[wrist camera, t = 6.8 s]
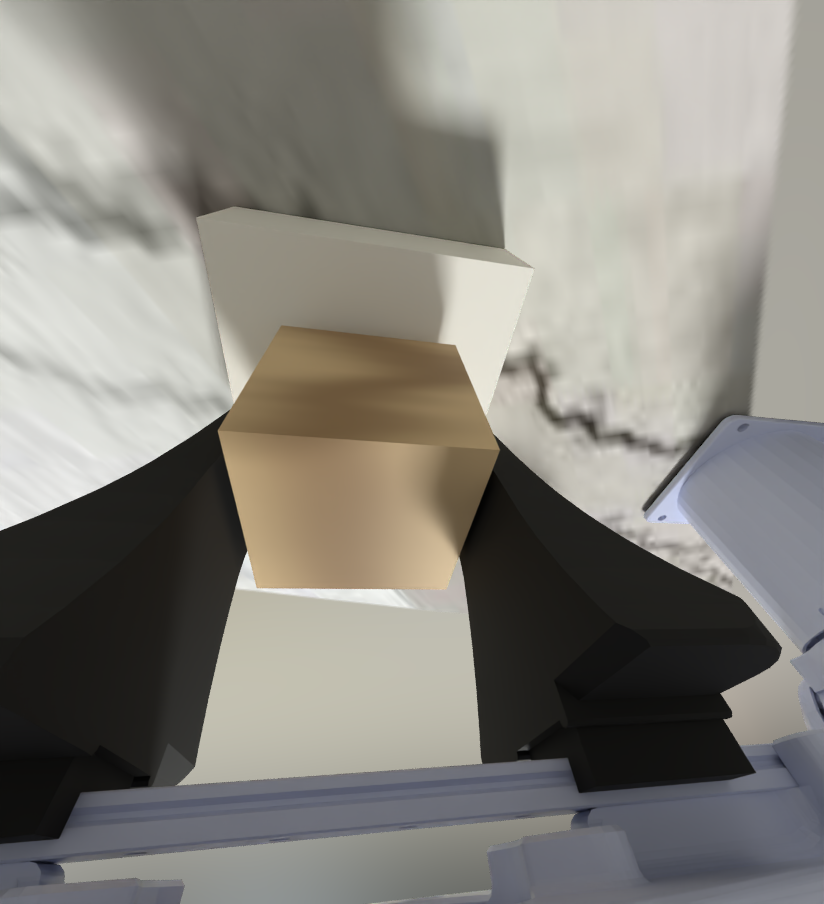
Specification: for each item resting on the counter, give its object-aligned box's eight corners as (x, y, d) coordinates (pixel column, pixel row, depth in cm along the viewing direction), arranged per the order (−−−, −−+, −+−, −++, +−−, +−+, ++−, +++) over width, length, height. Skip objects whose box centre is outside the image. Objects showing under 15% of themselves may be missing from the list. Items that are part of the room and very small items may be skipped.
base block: (505, 249, 12) (534, 268, 10) (451, 447, 18) (461, 489, 16) (234, 206, 11) (195, 217, 9) (267, 435, 17) (248, 479, 14)
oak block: (455, 345, 10) (499, 449, 7) (426, 469, 14) (446, 589, 10) (281, 325, 10) (217, 430, 6) (293, 461, 13) (257, 588, 9)
